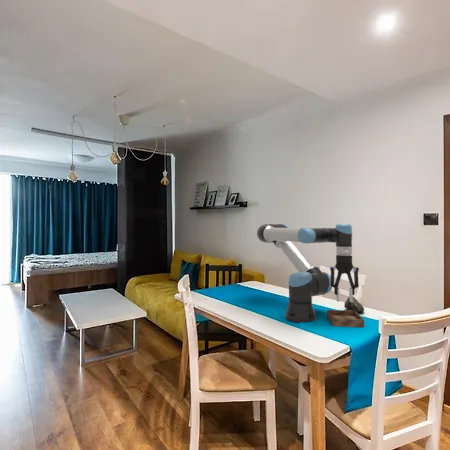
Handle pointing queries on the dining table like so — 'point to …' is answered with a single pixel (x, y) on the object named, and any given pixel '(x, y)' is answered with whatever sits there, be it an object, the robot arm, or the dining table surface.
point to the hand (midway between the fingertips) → (344, 301)
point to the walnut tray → (345, 318)
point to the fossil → (353, 305)
